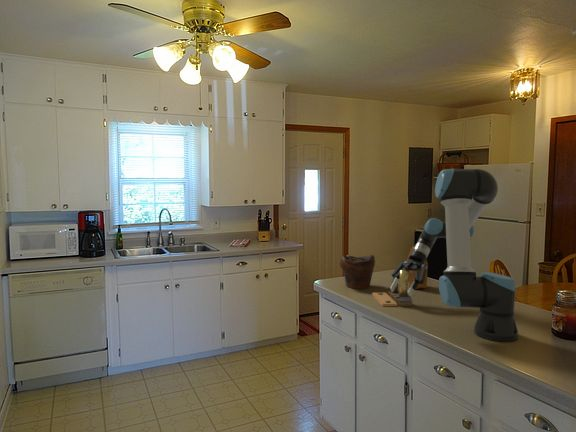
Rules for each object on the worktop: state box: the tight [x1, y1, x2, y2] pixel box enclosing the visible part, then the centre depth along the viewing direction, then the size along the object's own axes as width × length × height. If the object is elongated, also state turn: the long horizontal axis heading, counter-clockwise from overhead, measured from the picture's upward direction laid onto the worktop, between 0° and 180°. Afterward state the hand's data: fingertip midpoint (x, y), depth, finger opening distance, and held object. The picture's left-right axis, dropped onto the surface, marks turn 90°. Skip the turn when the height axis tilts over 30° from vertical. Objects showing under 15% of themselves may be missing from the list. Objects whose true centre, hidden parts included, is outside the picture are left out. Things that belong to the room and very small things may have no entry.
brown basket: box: [339, 254, 376, 290], centre depth 235 cm, size 18×20×18 cm
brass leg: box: [394, 270, 412, 302], centre depth 201 cm, size 6×7×14 cm
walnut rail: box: [385, 283, 413, 307], centre depth 208 cm, size 20×8×7 cm, turn 2°
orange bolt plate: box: [371, 292, 398, 307], centre depth 208 cm, size 20×7×1 cm, turn 2°
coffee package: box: [406, 245, 429, 290], centre depth 234 cm, size 10×12×22 cm
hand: (400, 292), depth 199 cm, fingers open, 9 cm apart
